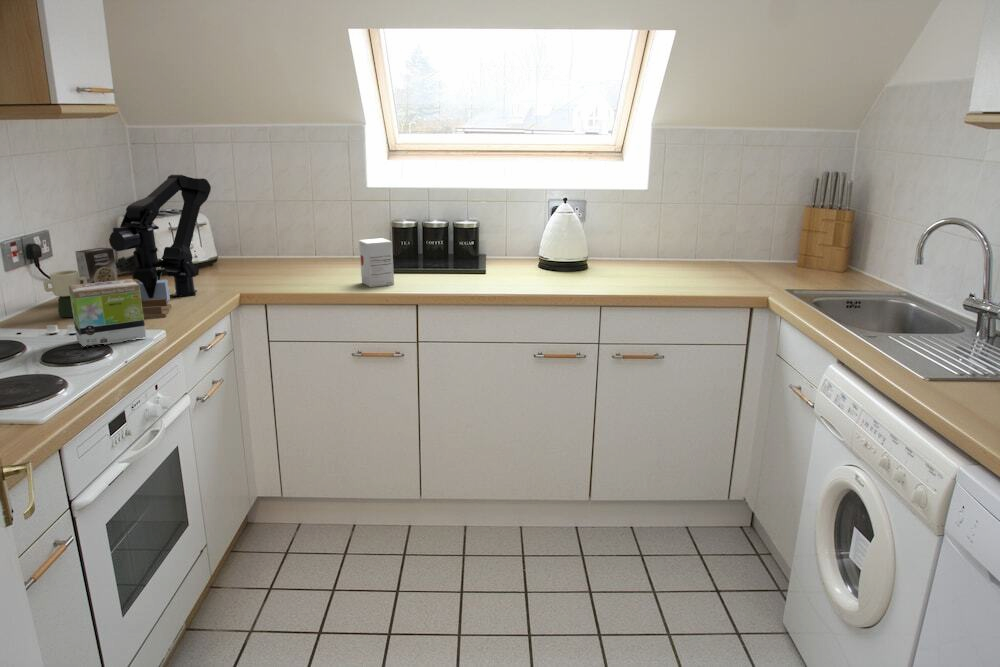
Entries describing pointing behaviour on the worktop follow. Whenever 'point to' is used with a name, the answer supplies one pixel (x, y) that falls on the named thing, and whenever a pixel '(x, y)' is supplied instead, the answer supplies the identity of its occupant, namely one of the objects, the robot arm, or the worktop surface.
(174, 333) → the worktop surface
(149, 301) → the walnut rack
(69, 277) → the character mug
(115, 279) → the coffee box
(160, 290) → the pale blue cuboid
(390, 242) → the supplement box
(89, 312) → the tea box
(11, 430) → the worktop surface
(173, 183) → the robot arm
